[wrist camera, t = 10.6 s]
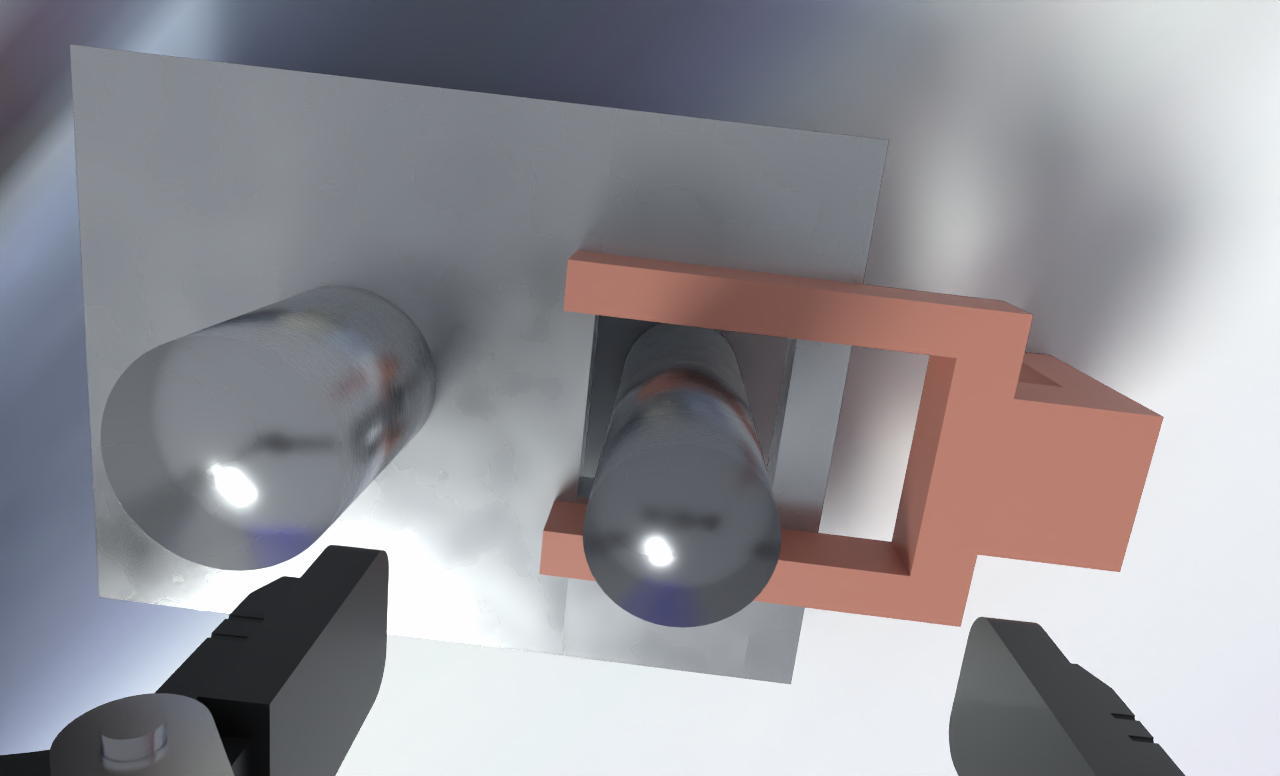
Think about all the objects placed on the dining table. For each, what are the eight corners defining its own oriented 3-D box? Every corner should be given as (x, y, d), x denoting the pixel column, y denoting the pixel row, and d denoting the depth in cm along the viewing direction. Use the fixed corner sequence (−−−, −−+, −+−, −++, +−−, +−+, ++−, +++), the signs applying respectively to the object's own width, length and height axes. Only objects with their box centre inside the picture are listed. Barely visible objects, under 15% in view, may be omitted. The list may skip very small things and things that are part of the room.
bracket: (570, 481, 29) (538, 574, 22) (594, 234, 27) (568, 259, 20) (1007, 535, 28) (1099, 644, 22) (1066, 290, 26) (1186, 333, 20)
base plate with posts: (184, 532, 30) (-92, 742, 19) (172, 62, 26) (-183, -1, 15) (774, 605, 29) (826, 861, 19) (853, 142, 26) (976, 134, 15)
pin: (618, 423, 28) (573, 614, 16) (630, 312, 27) (592, 432, 16) (730, 437, 28) (765, 638, 16) (746, 326, 27) (796, 457, 15)
